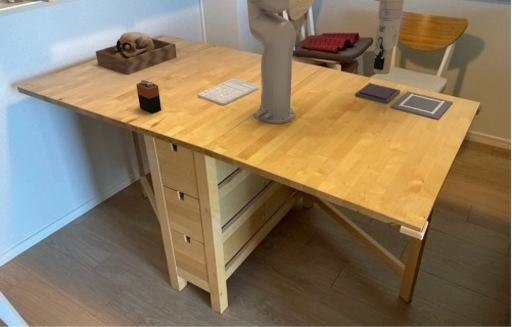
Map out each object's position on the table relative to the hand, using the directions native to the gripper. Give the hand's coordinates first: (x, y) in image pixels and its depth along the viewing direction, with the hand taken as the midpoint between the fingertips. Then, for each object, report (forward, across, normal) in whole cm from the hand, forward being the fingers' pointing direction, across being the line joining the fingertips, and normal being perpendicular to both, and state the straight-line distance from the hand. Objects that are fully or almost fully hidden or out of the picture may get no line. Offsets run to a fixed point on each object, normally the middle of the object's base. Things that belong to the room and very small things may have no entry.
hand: (382, 66), depth 151 cm
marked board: (+11, 0, -16) cm, 19 cm away
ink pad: (+11, 0, 0) cm, 11 cm away
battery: (+10, -57, +57) cm, 81 cm away
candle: (+2, 0, 0) cm, 2 cm away
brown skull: (+10, -29, +100) cm, 105 cm away
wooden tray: (+10, -26, +100) cm, 104 cm away
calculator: (+11, -30, +45) cm, 55 cm away
